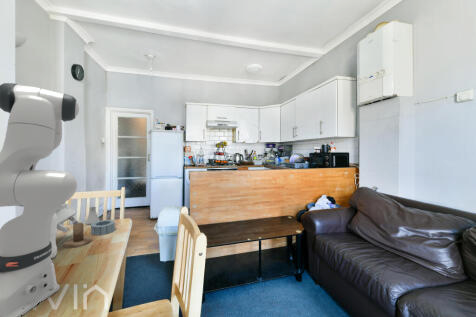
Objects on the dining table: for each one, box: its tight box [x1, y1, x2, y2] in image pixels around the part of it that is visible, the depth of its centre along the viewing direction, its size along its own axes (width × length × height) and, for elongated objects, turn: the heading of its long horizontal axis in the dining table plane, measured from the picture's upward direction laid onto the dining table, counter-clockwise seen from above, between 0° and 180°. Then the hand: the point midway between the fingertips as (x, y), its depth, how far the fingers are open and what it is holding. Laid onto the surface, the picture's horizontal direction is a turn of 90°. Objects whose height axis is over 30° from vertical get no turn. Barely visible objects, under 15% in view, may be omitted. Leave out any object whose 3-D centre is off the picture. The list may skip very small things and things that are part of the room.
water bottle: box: [50, 213, 58, 259], centre depth 82 cm, size 7×7×25 cm
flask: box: [85, 206, 101, 226], centre depth 124 cm, size 7×7×10 cm
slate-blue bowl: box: [90, 219, 116, 236], centre depth 112 cm, size 11×11×4 cm
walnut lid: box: [63, 222, 93, 249], centre depth 98 cm, size 11×11×9 cm
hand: (72, 227), depth 97 cm, fingers open, 8 cm apart
